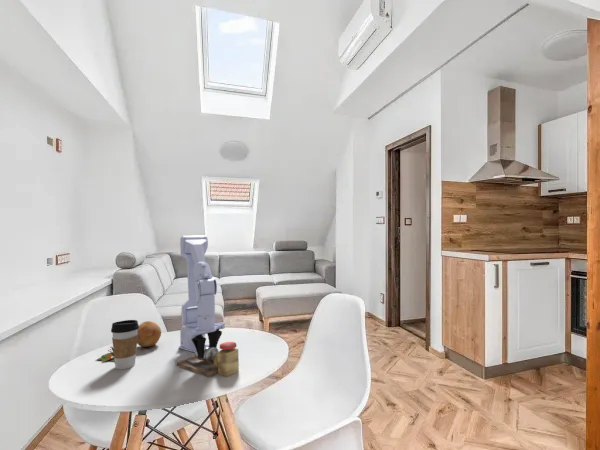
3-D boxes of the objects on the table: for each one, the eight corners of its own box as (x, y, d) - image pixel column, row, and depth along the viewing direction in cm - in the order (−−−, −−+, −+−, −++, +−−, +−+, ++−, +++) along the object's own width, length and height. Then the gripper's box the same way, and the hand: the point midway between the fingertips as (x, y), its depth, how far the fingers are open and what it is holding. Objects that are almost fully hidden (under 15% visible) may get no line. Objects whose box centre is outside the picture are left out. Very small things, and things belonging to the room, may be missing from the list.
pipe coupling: (194, 361, 106) (195, 345, 107) (206, 358, 110) (207, 343, 111) (206, 364, 103) (207, 348, 104) (218, 361, 107) (219, 346, 108)
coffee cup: (105, 369, 106) (104, 323, 106) (126, 359, 114) (126, 317, 114) (123, 372, 103) (123, 325, 103) (144, 362, 111) (144, 319, 111)
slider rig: (176, 365, 107) (176, 339, 108) (203, 354, 117) (202, 330, 117) (220, 381, 95) (220, 351, 95) (246, 367, 104) (246, 341, 104)
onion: (167, 343, 130) (166, 319, 130) (146, 352, 121) (146, 325, 121) (149, 341, 134) (149, 317, 134) (128, 349, 125) (128, 323, 125)
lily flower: (87, 363, 112) (87, 350, 112) (114, 351, 124) (114, 339, 124) (115, 365, 110) (115, 352, 110) (140, 353, 121) (140, 341, 121)
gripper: (195, 321, 99) (196, 365, 99) (230, 311, 111) (231, 350, 111) (182, 318, 103) (182, 360, 103) (216, 309, 115) (217, 346, 115)
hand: (206, 355), depth 107 cm, fingers closed on pipe coupling, 4 cm apart
